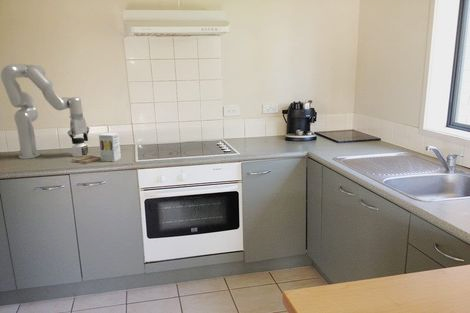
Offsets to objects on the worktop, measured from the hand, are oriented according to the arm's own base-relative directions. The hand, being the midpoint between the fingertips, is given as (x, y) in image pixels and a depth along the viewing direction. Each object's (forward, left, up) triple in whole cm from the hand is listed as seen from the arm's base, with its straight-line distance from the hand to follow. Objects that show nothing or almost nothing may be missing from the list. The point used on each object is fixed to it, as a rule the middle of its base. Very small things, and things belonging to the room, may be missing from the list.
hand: (80, 142), depth 271 cm
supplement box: (+26, 0, -9) cm, 28 cm away
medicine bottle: (-1, 0, -9) cm, 9 cm away
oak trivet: (+13, -8, -9) cm, 18 cm away
